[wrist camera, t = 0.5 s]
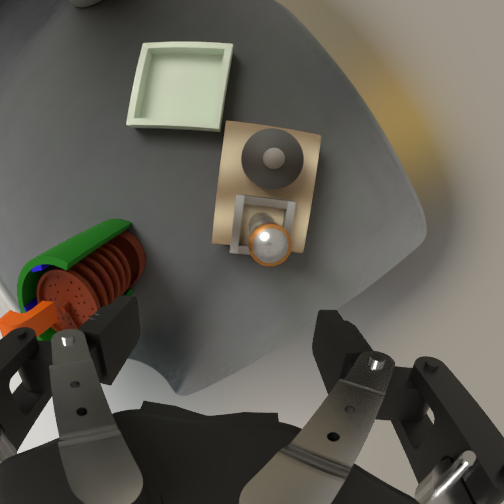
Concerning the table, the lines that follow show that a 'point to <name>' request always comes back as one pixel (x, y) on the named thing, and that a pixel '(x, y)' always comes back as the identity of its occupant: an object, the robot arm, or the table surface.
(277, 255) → the pin
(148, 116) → the tray
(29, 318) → the motor
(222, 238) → the pulley block
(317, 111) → the table surface
